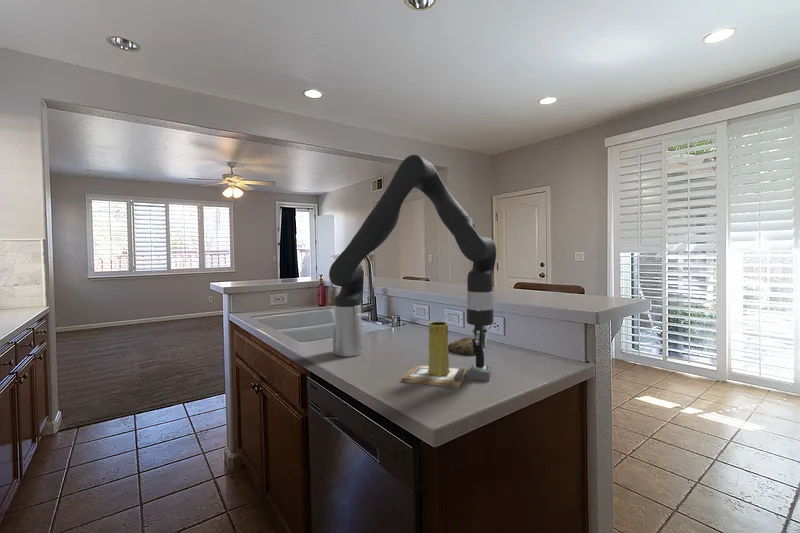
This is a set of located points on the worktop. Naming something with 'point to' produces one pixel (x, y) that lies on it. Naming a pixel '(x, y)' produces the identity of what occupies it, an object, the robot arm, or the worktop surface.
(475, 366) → the button
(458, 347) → the bread roll
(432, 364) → the vase
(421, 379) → the clipboard
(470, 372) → the button housing
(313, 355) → the worktop surface
